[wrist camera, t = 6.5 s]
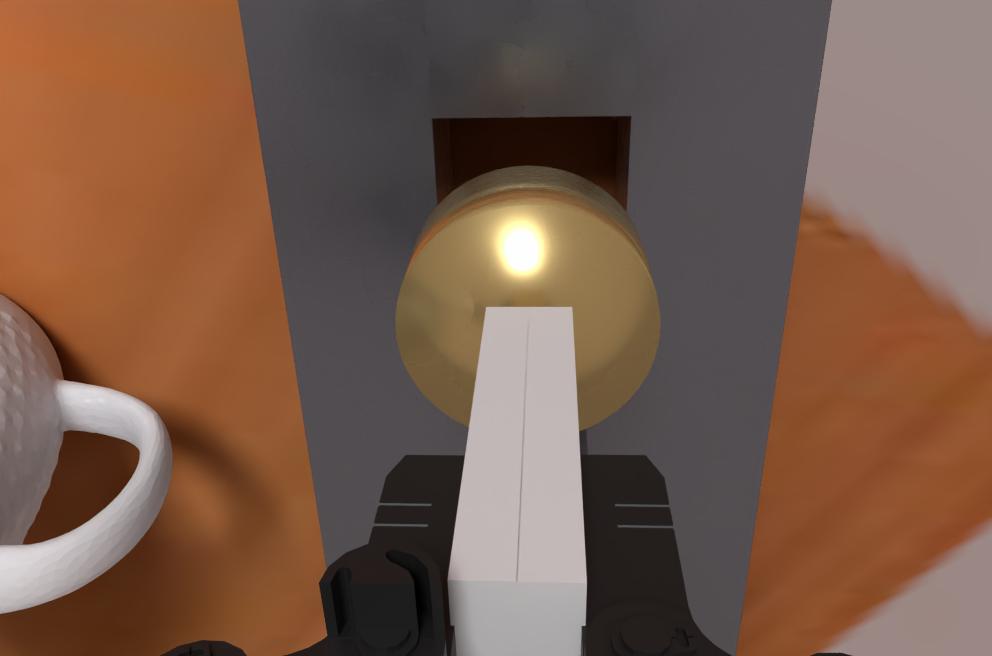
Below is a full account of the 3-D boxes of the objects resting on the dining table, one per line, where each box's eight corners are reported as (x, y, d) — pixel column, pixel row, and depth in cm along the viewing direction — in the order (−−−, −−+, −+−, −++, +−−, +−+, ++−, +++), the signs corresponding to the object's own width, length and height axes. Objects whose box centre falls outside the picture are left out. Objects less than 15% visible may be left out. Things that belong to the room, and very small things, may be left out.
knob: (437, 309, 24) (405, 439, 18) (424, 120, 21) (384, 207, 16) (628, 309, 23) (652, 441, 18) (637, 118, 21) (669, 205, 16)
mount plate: (368, 631, 36) (349, 713, 33) (279, -43, 24) (233, -27, 20) (707, 638, 35) (725, 723, 32) (793, -55, 23) (838, -41, 20)
